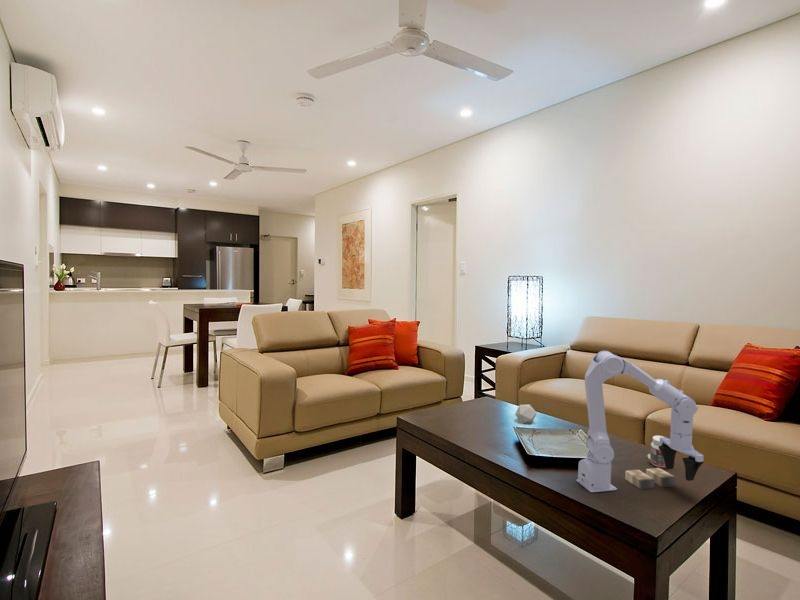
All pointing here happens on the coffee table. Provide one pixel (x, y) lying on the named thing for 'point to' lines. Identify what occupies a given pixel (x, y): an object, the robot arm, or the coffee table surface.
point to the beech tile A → (639, 479)
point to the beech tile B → (661, 477)
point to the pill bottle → (656, 453)
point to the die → (525, 413)
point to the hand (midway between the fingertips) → (679, 474)
